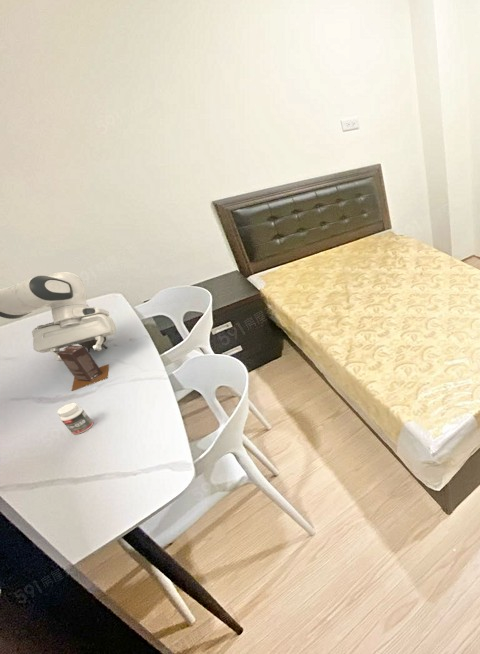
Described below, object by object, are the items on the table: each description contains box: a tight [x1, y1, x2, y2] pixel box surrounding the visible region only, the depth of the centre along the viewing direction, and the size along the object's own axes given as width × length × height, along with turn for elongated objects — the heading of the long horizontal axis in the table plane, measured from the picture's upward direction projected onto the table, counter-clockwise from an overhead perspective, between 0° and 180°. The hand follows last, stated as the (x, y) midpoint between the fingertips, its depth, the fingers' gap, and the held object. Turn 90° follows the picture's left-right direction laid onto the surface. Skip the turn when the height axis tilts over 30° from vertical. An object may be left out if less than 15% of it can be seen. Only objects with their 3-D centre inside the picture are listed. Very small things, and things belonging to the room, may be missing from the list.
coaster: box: [71, 363, 110, 391], centre depth 136 cm, size 9×9×1 cm
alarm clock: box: [78, 336, 108, 353], centre depth 146 cm, size 11×5×16 cm, turn 76°
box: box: [57, 345, 102, 381], centre depth 133 cm, size 6×4×12 cm
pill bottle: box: [57, 402, 94, 435], centre depth 115 cm, size 5×5×8 cm
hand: (79, 355), depth 134 cm, fingers open, 8 cm apart
